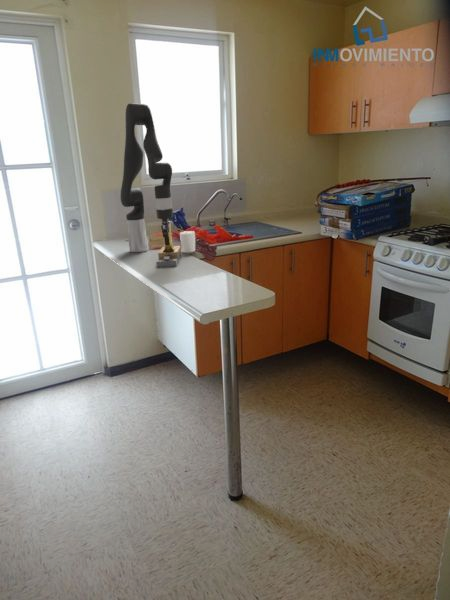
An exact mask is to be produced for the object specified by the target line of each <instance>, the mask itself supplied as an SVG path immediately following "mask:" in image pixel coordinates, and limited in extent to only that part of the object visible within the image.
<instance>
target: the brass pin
mask: <svg viewBox="0 0 450 600" xmlns="http://www.w3.org/2000/svg"><path fill="white" fill-rule="evenodd" d="M171 228H172V226H170V232H169V241H170V245H165V240H164V237H163V236H162V237H163V247H164V249H165V252H173V246H174V244H173V237H172V235H173V234H172V229H171ZM165 234H167V233H165Z"/></svg>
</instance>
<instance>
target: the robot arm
mask: <svg viewBox="0 0 450 600" xmlns="http://www.w3.org/2000/svg"><path fill="white" fill-rule="evenodd" d="M151 111H152V110H151V108H150V106H149V105H147V104H146V103H131V102H130V103H127V105H126V108H125V141H124V142H125V143H124V152H123V153H124V155H123V173H122V180H121V181H122V183H121V188H120V202H121V205H122V206H123V207H125V208H128V207H131V208H132V207H133V209H132V210H130V212H128V213H126V224H127V231H128V232H127V233H128V234H127V239H128V248H129V252H130V253H141V252H142V253H143V252H146V251H148V250H149V249H148V248H149V247H148V238H147V231H146V223H145V222H146V221H145V205H144V201H145V200H144V193H143V192H142V189H141V188H140V187H133V183H134V181H135V179H136V178H137V176H138V175H139V173H140V172H141V170H142V169H143V168H142V167H143V164H144V153H145V155H146V158H147V165H148V169H147V171H148V175H149V177H150V178H151V179H153V180H162V182H161V183H160V184H155V186H154V196H155V209H156V218H157V220H162V221H161V222H160V228H161V232H162V233H161V234H162V237H164V240H165V245H170V241H169V232H170V226H171V225H172V224H171V223H172V222H171V220H170V219H173V218H174V211H173V210H174V209H173V202H172V194H171V181H172V176H173V175H172V174H173V168H172V166H171V164H170V163H169V162H166V161H164V162H161V161H162V160H163V152H162V149H161V147H160V145H159V141H158V138H157V133H156V129H155V122H154V119H153V114H152V112H151ZM136 126H144V127H145V129H146V133H145V135H144V138H143V144H142V145H143V148H142V146H141V144H140V142H139V141H138V138H137V136H136V133H135V132H136V130H135V129H136V128H135V127H136ZM143 150H144V151H143ZM171 227H172V226H171ZM165 233H167V234H165ZM164 240H163V241H164Z"/></svg>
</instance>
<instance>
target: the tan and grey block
mask: <svg viewBox="0 0 450 600" xmlns="http://www.w3.org/2000/svg"><path fill="white" fill-rule="evenodd" d="M157 255H158V259H156V264H155V265H156V268H166V267H167V268H168V267H170V268H171V267H177V266H178V264H179V261H180V259H181V257H182V246H181V245H173V252H165V249H164V246H162V247H161V249H160V250H159V251H158V253H157Z"/></svg>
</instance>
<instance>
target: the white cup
mask: <svg viewBox="0 0 450 600" xmlns="http://www.w3.org/2000/svg"><path fill="white" fill-rule="evenodd" d="M179 238H180V244H181V245H180V246H181V253H186V254H187V253H194V252H196V232H195V231H194V230H187V231H180V232H179Z"/></svg>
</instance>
